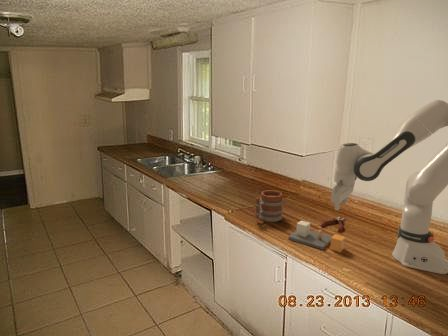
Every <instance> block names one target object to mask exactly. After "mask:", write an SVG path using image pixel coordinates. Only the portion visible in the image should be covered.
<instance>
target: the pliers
mask: <svg viewBox="0 0 448 336" xmlns="http://www.w3.org/2000/svg"><path fill="white" fill-rule="evenodd" d="M345 219H346V217H342V218H341V216H338V217H337V218H335V217H334V218H332V219H331V220H330V219H329V220H325V221H323V222H322V223H321V224H320V227H321V228H322V229H323V228H324V226H325V227H326V226H327V225H332V224H338V226H339V227H338V229H337V232H338V233H341V232H342V231H343V230H344V221H345Z"/></svg>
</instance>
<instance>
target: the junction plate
mask: <svg viewBox="0 0 448 336" xmlns="http://www.w3.org/2000/svg"><path fill="white" fill-rule="evenodd" d="M333 236H334V235H329V234H325V233H323V230H322V229H318V231H316V230H311V222H307V221H305V220H300V221H298V222H296V230H295V231H294V232H292V233H291V234H289V235H288V238H287V239H288V240H290V241H293V242H297V243H300V244H303V245H307V246H309V247H313V248H315V249H319V250H324V249H326V247H328V245H329V244H331V237H333Z"/></svg>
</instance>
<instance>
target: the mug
mask: <svg viewBox="0 0 448 336" xmlns="http://www.w3.org/2000/svg"><path fill="white" fill-rule="evenodd" d="M283 203H284V200H283V193H282V191H279V190H275V189H274V190H270V189H268V190H267V189H266V190H263V191H262V192H261V195H260V198H259V197H256V198H255V205H254V206H255V211H254V216H255V218H256V219H261V220H262V221H263V222H264V221H265V222H272V223H276V222H280V221H281V220H282V219H283V217H284V216H283V214H282V213H283V207H282V205H283Z"/></svg>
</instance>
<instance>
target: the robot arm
mask: <svg viewBox="0 0 448 336" xmlns="http://www.w3.org/2000/svg"><path fill="white" fill-rule="evenodd" d="M445 127H448V102H446V101H444V100H443V99H442V100H441V99H436V100H433V101H431V102H429V103H427V104H425V105H424V106H422V107H421V108H419V109H417V110H416V111H414V112H413V113H412V114H411V115H409V116H408V117H407V118H406V119H405V120H404V121H403V122H402V123H401V124H400V125H399V126H398V129H397V131H396V133H395V135H394V136H393V137H392V139H391V140H390V141H388V143H386V144H385V145H384V146H382V147H381V148H380V149H378V150H377V151H376V152H375V153H374V152H370V151H368V150H366V149H364V148H362V147H361V146H360V145H359V144H358V143H354V142H347V143H344V144H341V145H340V146H339V148H338V150H337V155H336V161H335V162H336V168H335V171H334V175H333V181H334V183H336V184H334V185H333V186H332V189H331V190H332V191H331V194H330V195H331V196H330V202H331V203H333V204H334V210H335V211H339V210H340V208H341V206H340V204H341V205H342V206H343V205H344V206H346V204H347V202H348V199H349V196H350V195H352V194H353V191H354V188H355V184H356V180H357V179H359V180H360V181H364V182H371V181H372V182H373V181H374V180H376V179H377V178H378V177H379V176H380V174H381V173H382V170H383V169H384V168H385V167H386V166H387V165H388V164H389V163H390V162H392V161H394V160H395V159H396V158H398V157H399V156H400V155H401V154H402V153H404V152H406V151H407V150H409V149H411V148H412V147H414V146H415V145H417V144H419V143H421V142H423V141H424V140H426V139H429V137H431V136H432V135H434V134H435V133H436V132H438V131H439V130H441V129H442V128H443V129H444V128H445ZM406 179H407V180H406V182H405V183H406V184H405V192H404V200H403V205H402V206H403V207H402V213H401V214H402V215H401V220H400V221H401V222H400V225H399V226H398V230H397V241H396V245H395V247H394V249H393V251H392V254H391V255H392V257H393V258H394V259H395V260H397V261H398V262H400V263H401V265H402V266H403V267H407V268H411V269H416V270H420V271H425V272H430V273H435V274H440V275H445V274H448V260H447V259H446V254H445V251H444V249H443V248H441V247H440V246H439V244H437V243H436V242H435V241H434V239H435V238H434V236H435V235H434V232H431V231H430V228H431V227H430V226H431V221H432V214H433V206H434V205H433V204H434V201H435V200H436V199H437V197H438V196H439V195H440V194H441V193H442V192H443V191H444V190H445V189H446V187H447V186H448V142H447V143H446V144H445V145H444V146H443V147H442V148H441V149H440V150H439V151H438V152H436V154H435V155H434V156H432V158H430V160H429V161H428V163H427V164H426V165H425V166H424V167H423V168H422V170H421V171H416V172H413V173H412V174H411V175H409V176H408V178H406Z"/></svg>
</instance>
